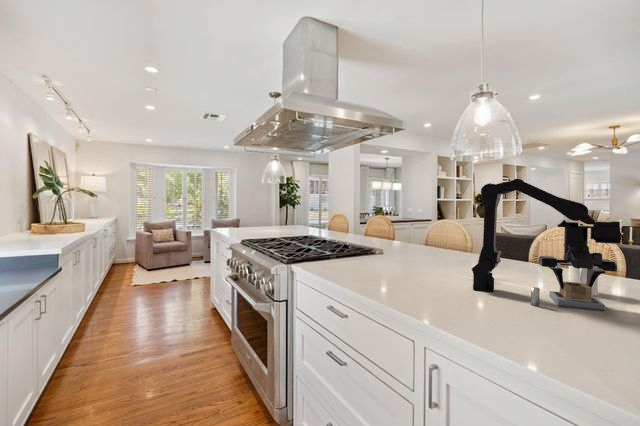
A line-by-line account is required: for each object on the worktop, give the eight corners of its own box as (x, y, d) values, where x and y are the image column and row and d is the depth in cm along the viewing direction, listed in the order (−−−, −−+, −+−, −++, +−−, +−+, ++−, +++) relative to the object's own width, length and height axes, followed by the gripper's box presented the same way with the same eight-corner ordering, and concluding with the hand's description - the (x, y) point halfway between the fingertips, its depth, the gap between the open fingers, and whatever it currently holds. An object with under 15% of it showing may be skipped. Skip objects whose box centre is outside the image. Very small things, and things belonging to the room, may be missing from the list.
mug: (594, 299, 103) (595, 263, 102) (562, 293, 109) (563, 260, 109) (600, 292, 110) (601, 259, 110) (570, 287, 117) (570, 256, 116)
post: (531, 305, 97) (531, 288, 96) (530, 303, 99) (530, 286, 98) (540, 306, 96) (540, 289, 96) (538, 304, 98) (538, 287, 98)
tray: (558, 306, 96) (558, 300, 96) (549, 296, 106) (549, 290, 106) (604, 311, 91) (604, 304, 91) (590, 300, 101) (590, 294, 101)
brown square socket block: (559, 292, 103) (559, 281, 103) (583, 295, 100) (583, 283, 100) (565, 298, 97) (565, 285, 97) (591, 300, 94) (591, 288, 94)
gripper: (546, 243, 95) (546, 293, 95) (626, 246, 87) (625, 300, 87) (538, 239, 105) (537, 284, 105) (609, 241, 97) (608, 290, 97)
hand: (574, 289), depth 98 cm, fingers closed on brown square socket block, 6 cm apart
